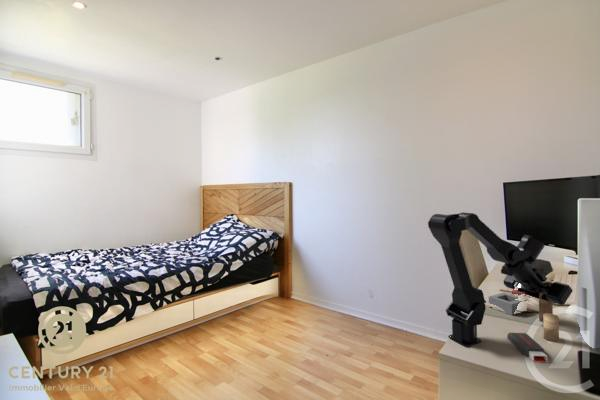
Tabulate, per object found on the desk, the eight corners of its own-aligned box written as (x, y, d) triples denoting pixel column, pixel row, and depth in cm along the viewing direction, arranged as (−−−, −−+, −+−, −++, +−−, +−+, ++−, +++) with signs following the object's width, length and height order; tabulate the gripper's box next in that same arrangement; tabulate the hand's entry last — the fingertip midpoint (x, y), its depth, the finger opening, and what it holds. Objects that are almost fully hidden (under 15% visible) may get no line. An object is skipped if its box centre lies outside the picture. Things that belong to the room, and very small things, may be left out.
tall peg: (548, 324, 99) (547, 284, 98) (536, 320, 102) (536, 281, 102) (555, 322, 100) (554, 283, 100) (543, 318, 104) (542, 280, 103)
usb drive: (526, 340, 91) (526, 331, 91) (551, 363, 79) (551, 353, 79) (507, 339, 92) (507, 330, 92) (529, 362, 80) (528, 352, 80)
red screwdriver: (499, 285, 132) (543, 293, 122) (499, 289, 132) (543, 297, 122) (497, 288, 129) (542, 296, 119) (497, 292, 129) (542, 300, 119)
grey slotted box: (511, 315, 107) (511, 304, 106) (488, 307, 114) (488, 296, 114) (527, 310, 110) (527, 299, 109) (504, 302, 118) (504, 292, 117)
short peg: (554, 343, 88) (553, 319, 88) (541, 337, 91) (540, 314, 91) (561, 340, 89) (561, 316, 89) (548, 335, 93) (548, 312, 92)
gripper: (567, 259, 90) (594, 290, 94) (508, 247, 108) (533, 274, 112) (548, 289, 88) (576, 320, 92) (491, 272, 106) (516, 298, 110)
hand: (548, 300), depth 101 cm, fingers closed on tall peg, 3 cm apart
